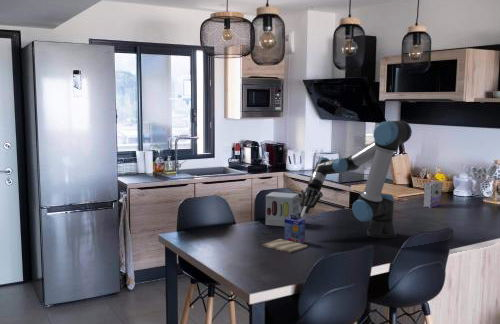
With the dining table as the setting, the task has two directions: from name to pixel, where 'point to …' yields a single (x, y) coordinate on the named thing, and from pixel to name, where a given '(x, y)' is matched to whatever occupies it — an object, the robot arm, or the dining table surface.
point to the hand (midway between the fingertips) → (302, 217)
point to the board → (285, 245)
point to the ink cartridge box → (295, 229)
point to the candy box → (432, 194)
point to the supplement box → (281, 207)
